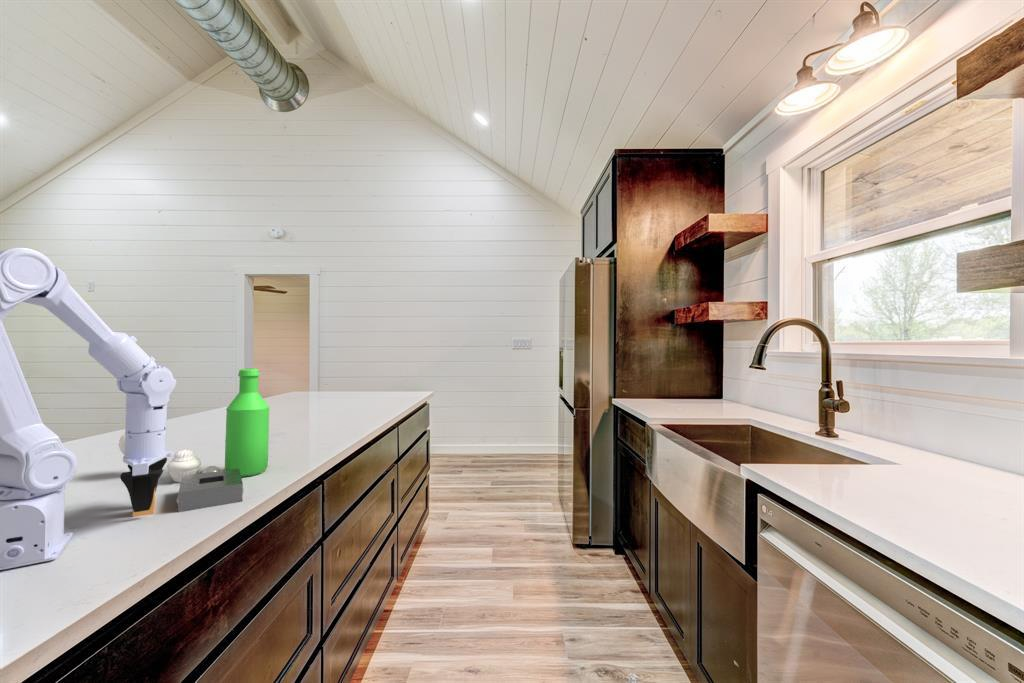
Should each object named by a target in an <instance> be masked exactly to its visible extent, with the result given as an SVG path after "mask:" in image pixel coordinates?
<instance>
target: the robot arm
mask: <svg viewBox="0 0 1024 683" xmlns="http://www.w3.org/2000/svg"><path fill="white" fill-rule="evenodd" d="M22 302H23V303H27V304H30V305H34V306H40V307H43V308H45V309H46V310H47V311H49V312H50V314H52V315H54V316H55V317H56V318H57V319H59V320H60V321H61V322H62V323H64V324H65V325H66V326H68V327H69V329H71V330H72V331H74V333H76V334H77V335H78V336H80V337H81V338H82V339H84V341H86V342H88V343H89V344H88V350H87V351H88V354H89V356H91V358H93V359H94V361H96V362H97V363H98V364H99V365H101V366H102V368H104V369H105V370H106V371H108V373H110V374H111V376H113V377H114V378H116V386H117V388H118V390H119V391H120V392H123V393H125V394H126V396H125V397H126V399H125V429H124V430H125V432H124V433H125V456H124V455H123V458H122V462H123V464H124V463H125V464H126V465H127V467H128V470H130V471H131V472H129V471H125V472H121V473H120V475H119V477H120V480H121V482H122V483H123V484H124V486H125V488H126V490H127V492H128V496H129V499H130V503H131V507H132V512H133V511H134V512H140V511H146V510H149V509H150V507H151V504H152V500H153V495H154V490H155V493H156V491H157V487H158V485H159V484H158V483H159V480H160V477H161V476H162V475H163V473H164V469H163V468H164V466H165V465H166V463H167V461H168V458H169V457H173V456H174V455H175V451H174V450H167V427H168V426H167V422H168V420H167V418H168V413H167V412H168V402H170V396H171V393H172V392H173V391H174V389H175V387H176V385H177V379H175V377H174V375H173V373H172V372H171V370H170V369H169V368H167V366H163V365H159V364H158V365H157V363H156V358H154V357H153V356H152V355H150V356H149V354H147V353H146V352H145V351H144V350H143V348H142V347H141V346H139V345H138V344H137V342H138V339H137V338H136V337H135V336H134V335H128V334H127V333H125V332H122V331H121V332H120V331H113V330H112V329H111V328H110V327H109V326H108V325H107V324H106V323H105V322H104V321H103V319H102V318H101V317H100V316H99V315H98V313H96V312H95V310H93V308H92V307H91V306H90V305H89V304H88V303H87V302H86V301H85V299H84V298H83V297H81V295H80V294H79V293H78V292H77V291H76V290H75V289H74V288H73V286H72V285H71V284H70V281H69V279H68V277H67V275H66V273H65V272H64V271H63V270H61V269H60V268H58V267H55V265H54V263H53V262H52V260H50V259H49V258H48V256H47V255H45V254H43V253H41V252H39V251H37V250H34V249H32V248H28V247H13V248H8V249H0V571H3V570H8V569H14V568H18V567H24V566H29V565H34V564H39V563H44V562H49V561H53V560H56V559H58V557H59V555H60V553H62V551H63V550H64V549H65V547H66V546H67V544H68V543H69V541H70V540H71V539H72V537H73V532H66V533H65V504H66V502H65V500H66V499H65V498H66V497H65V496H66V489H67V484H68V483H69V482H70V481H71V480H72V479H73V477H74V476H75V474H76V472H77V469H78V458H77V456H76V455H75V454H74V453H73V452H72V451H71V450H70V449H68V448H66V447H65V446H64V445H63V443H62V441H61V439H60V436H58V435H57V434H56V433H55V432H53V431H52V430H51V429H50V428H49V427H48V426H46V425H45V424H44V423H43V421H42V418H41V416H40V413H39V411H38V408H37V405H36V404H35V403H36V402H35V400H34V398H33V396H32V393H31V390H30V388H29V386H28V385H29V384H28V383H27V381H26V378H25V376H24V373H23V371H22V369H21V366H20V363H19V361H18V358H17V356H16V352H15V350H14V349H13V346H12V342H10V339H9V336H8V334H7V330H6V328H5V326H4V323H3V320H4V319H5V317H6V316H8V315H9V314H10V313H11V312H12V311H13V310H14V309H15V308H16V307H17V306H18V305H20V304H21V303H22Z"/></svg>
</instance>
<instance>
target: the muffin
mask: <svg viewBox="0 0 1024 683" xmlns="http://www.w3.org/2000/svg"><path fill="white" fill-rule="evenodd" d="M173 456H174V457H173V458H172V459H171V461H170V462H168V464H167V465H166V469H167V471H168V474H169V475H170V477H171V478H172V480H173V481H174V482H176V483H181V478H182V476H186V475H193V474H198V473H197V472H198V471H199V469H200V466H201V464H202V461H201V459H200V458H198V457H197V456H196V455H195V451H193V450H191V449H186V448H185V449H182V450H178V451H177V452H176V453H174V455H173Z"/></svg>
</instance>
